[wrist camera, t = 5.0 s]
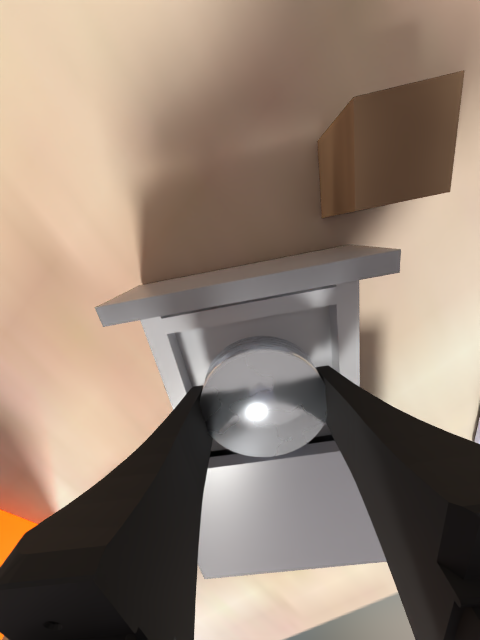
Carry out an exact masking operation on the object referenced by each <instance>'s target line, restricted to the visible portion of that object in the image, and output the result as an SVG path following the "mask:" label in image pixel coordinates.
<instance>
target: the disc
mask: <svg viewBox="0 0 480 640" xmlns="http://www.w3.org/2000/svg"><path fill="white" fill-rule="evenodd" d="M200 407H201V410H202V413H203V416H204V420H205V423H206V426H207V429H208V432H209V434H210V436H211V437H212V438H213V439H214V440H215V441H217V442H218V443H219V444H220V445H222V446H224V447H225V448H227V449H229V450H231V451H233V452H236V453H239V454H242V455H246V456H253V457H272V456H279V455H283V454H286V453H289V452H292V451H294V450H296V449H298V448H300V447H302V446H304V445H305V444H307V443H308V442H309V441H311V440H312V439H313V438H314V437H315V436H316V435H317V434H318V433H319V431H320V430H321V429H322V427H323V425H324V423H325V421H326V419H327V404H326V391H325V384H324V382H323V380H322V378H321V377H320V375H319V373H318V371H317V369H316V368H315V366H314V364H313V362H312V361H311V359H310V358H309V356H308V355H307V354H306V353H305V352H304V351H303V350H302V349H301V348H299V347H298V346H297V345H295V344H293V343H292V342H289V341H287V340H285V339H281V338H278V337H272V336H253V337H248V338H244V339H241V340H238V341H236V342H234V343H232V344H230V345H229V346H227V347H226V348H224V349H223V350H222V351H221V352H219V353H218V355H217V356H216V357H215V358H214V359H213V361H212V362H211V364H210V366H209V368H208V371H207V374H206V378H205V382H204V386H203V390H202V394H201V398H200Z"/></svg>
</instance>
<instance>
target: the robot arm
mask: <svg viewBox="0 0 480 640" xmlns="http://www.w3.org/2000/svg"><path fill="white" fill-rule="evenodd" d="M315 368H316V369H317V371H318V373H319V375H320V377H321V378H322V380H323V382H324V384H325V391H326V404H327V419H326V421H325V422H326V424H327V426H328V428H329V430H330V432H331V434H332V436H333V438H334V440H335V442H336V444H337V446H338V448H339V450H340V452H341V454H342V456H343V458H344V460H345V462H346V464H347V466H348V468H349V469H350V471H351V474H352V476H353V478H354V480H355V482H356V485H357V487H358V489H359V492H360V494H361V497H362V499H363V502H364V504H365V507H366V509H367V512H368V514H369V517H370V519H371V522H372V524H373V527H374V529H375V532H376V534H377V537H378V540H379V542H380V545H381V547H382V550H383V553H384V555H385V558H386V561H387V563H388V566H389V568H390V571H391V574H392V576H393V579H394V582H395V584H396V587H397V590H398V593H399V595H400V598H401V601H402V604H403V606H404V609H405V612H406V615H407V617H408V620H409V623H410V625H411V628H412V631H413V634H414V637H415V639H416V640H480V419H479V423H478V427H477V432H476V436H475V440H474V442H473V441H470V440H467V439H464V438H462V437H459V436H457V435H454V434H452V433H449V432H447V431H444V430H442V429H440V428H437V427H435V426H432V425H430V424H428V423H425V422H423V421H421V420H419V419H417V418H415V417H413V416H411V415H409V414H406V413H404V412H402V411H400V410H398V409H396V408H395V407H393V406H391V405H389V404H387V403H385V402H384V401H382V400H380V399H378V398H377V397H375V396H373V395H372V394H370V393H368V392H367V391H365V390H364V389H362V388H360V387H359V386H357V385H356V384H354V383H353V382H351V381H350V380H348V379H347V378H346V377H344V376H343V375H341V374H340V373H339V372H337V371H336V370H334V369H333V368H331V367H330V366H329V365H327V366H321V367H315ZM203 386H204V385H201V386H194V387H192V388H191V389H190V390H189V391H188V393H187V394H186V395H185V396H184V398H183V399H182V400H181V401H180V403H179V404H178V405H177V406H176V407H175V409H174V410H173V411H172V412H171V413H170V415H169V416H168V417H167V418H166V419H165V420H164V422H163V423H162V424H161V425H160V426H159V427H158V428H157V429H156V430H155V431H154V433H153V434H152V435H151V436H150V437H149V438H148V439H147V440H146V441H145V442H144V443H143V444H142V445H141V446H140V447H139V448H138V449H137V450H136V451H134V452H133V453H132V454H131V455H130V456H129V457H128V458H127V459H126V460H124V461H123V462H122V463H121V464H120V465H119V466H117V467H116V468H115V469H114V470H113V471H111V472H110V473H109V474H108V475H107V476H105V477H104V478H103V479H102V480H100V481H99V482H98V483H97V484H95V485H94V486H93V487H91V488H90V489H89V490H87V491H86V492H85V493H83V494H82V495H80V496H79V497H78V498H76V499H75V500H74V501H72V502H71V503H69V504H68V505H66V506H65V507H64V508H62V509H61V510H59V511H58V512H56V513H55V514H53V515H52V516H50V517H49V518H47V519H45V520H44V521H42V522H41V523H39V524H38V525H36V526H35V527H33V528H32V529H30V530H29V531H27V532H25V534H24V535H23V536H22V538H21V539H20V540H19V542H18V543H17V545H16V546H15V547H14V549H13V550H12V551H11V553H10V554H9V556H8V557H7V558H6V560H5V561H4V563H3V564H2V565H1V567H0V633H1V634H3V635H4V636H5V637H6V638H8V639H9V640H194V623H195V599H196V581H197V563H198V549H199V535H200V523H201V511H202V501H203V493H204V487H205V481H206V476H207V470H208V464H209V459H210V453H211V447H212V441H213V438H212V437H211V436H210V434H209V432H208V429H207V426H206V423H205V420H204V416H203V413H202V410H201V407H200V398H201V394H202V390H203Z"/></svg>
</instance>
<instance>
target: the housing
mask: <svg viewBox="0 0 480 640" xmlns="http://www.w3.org/2000/svg"><path fill="white" fill-rule="evenodd" d="M377 562H387V561H386V558H385V555H384V553H383V550H382V547H381V545H380V542H379V540H378V537H377V534H376V532H375V529H374V527H373V524H372V522H371V519H370V517H369V514H368V512H367V509H366V507H365V504H364V502H363V499H362V497H361V494H360V492H359V489H358V487H357V485H356V482H355V480H354V478H353V476H352V474H351V471H350V469H349V468H348V466H347V464H346V462H345V460H344V458H343V456H342V454H341V452H340V450H339V448H338V446H337V444H336V442H335V440H334V438H333V436H332V435H326V436H319V437H314V438H313V439H312V440H311V441H309V442H308V443H307V444H305V445H304V446H302V447H300V448H298V449H296V450H294V451H292V452H289V453H286V454H283V455H279V456H272V457H253V456H246V455H242V454H239V453H236V452H233V451H231V450H229V449H224V450H216V451H211V453H210V459H209V464H208V470H207V476H206V481H205V487H204V493H203V501H202V511H201V523H200V535H199V549H198V566H199V568H200V570H201V572H202V574H203V577H204V579H211V578H221V577H232V576H242V575H252V574H263V573H273V572H284V571H294V570H304V569H315V568H325V567H336V566H346V565H356V564H367V563H377Z"/></svg>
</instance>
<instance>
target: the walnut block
mask: <svg viewBox="0 0 480 640" xmlns="http://www.w3.org/2000/svg"><path fill="white" fill-rule="evenodd" d="M463 78H464V71H460V72H456V73H452V74H447V75H443V76H439V77H435V78H431V79H427V80H422V81H418V82H414V83H410V84H406V85H402V86H397V87H393V88H389V89H385V90H381V91H377V92H372V93H368V94H364V95H360V96H356V97H353V98H352V100H351V101H350V102H349V103H348V104H347V106H346V107H345V108H344V109H343V111H342V112H341V113H340V114H339V116H338V117H337V118H336V119H335V120H334V122H333V123H332V124H331V125H330V127H329V128H328V129H327V130H326V131H325V133H324V134H323V135H322V136H321V138H320V139H319V140H318V141H317V143H318V160H319V177H320V194H321V211H322V218H325V217H330V216H334V215H339V214H344V213H349V212H354V211H359V210H364V209H369V208H374V207H378V206H383V205H388V204H393V203H398V202H403V201H408V200H412V199H417V198H422V197H427V196H432V195H437V194H442V193H446V192H450V188H451V180H452V171H453V163H454V154H455V146H456V137H457V129H458V120H459V112H460V103H461V95H462V86H463Z"/></svg>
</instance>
